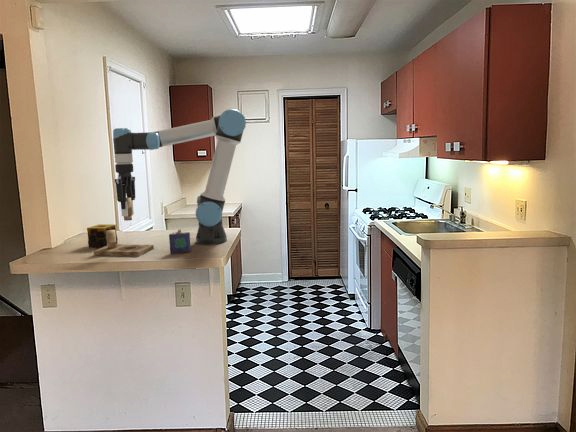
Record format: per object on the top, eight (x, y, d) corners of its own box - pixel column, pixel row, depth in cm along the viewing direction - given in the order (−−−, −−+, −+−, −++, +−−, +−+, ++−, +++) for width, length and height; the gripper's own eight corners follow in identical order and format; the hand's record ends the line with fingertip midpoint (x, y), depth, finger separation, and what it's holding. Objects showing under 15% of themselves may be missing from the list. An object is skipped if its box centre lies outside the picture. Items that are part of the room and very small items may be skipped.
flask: (190, 250, 214) (188, 227, 212) (191, 252, 211) (190, 228, 210) (169, 253, 210) (168, 229, 209) (171, 254, 208) (169, 230, 206)
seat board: (153, 248, 220) (152, 228, 218) (139, 256, 206) (137, 234, 204) (110, 248, 224) (108, 227, 222) (93, 255, 210) (91, 233, 208)
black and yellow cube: (106, 248, 224) (104, 228, 222) (87, 248, 226) (85, 227, 224) (118, 243, 234) (116, 224, 232) (100, 243, 236) (98, 224, 234)
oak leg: (134, 219, 214) (132, 197, 213) (129, 220, 210) (128, 198, 209) (126, 219, 215) (124, 197, 213) (121, 220, 211) (119, 198, 209)
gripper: (126, 162, 218) (130, 212, 221) (105, 164, 201) (109, 218, 205) (141, 162, 216) (144, 212, 220) (121, 164, 200) (125, 218, 203)
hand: (127, 215), depth 212 cm, fingers closed on oak leg, 4 cm apart
